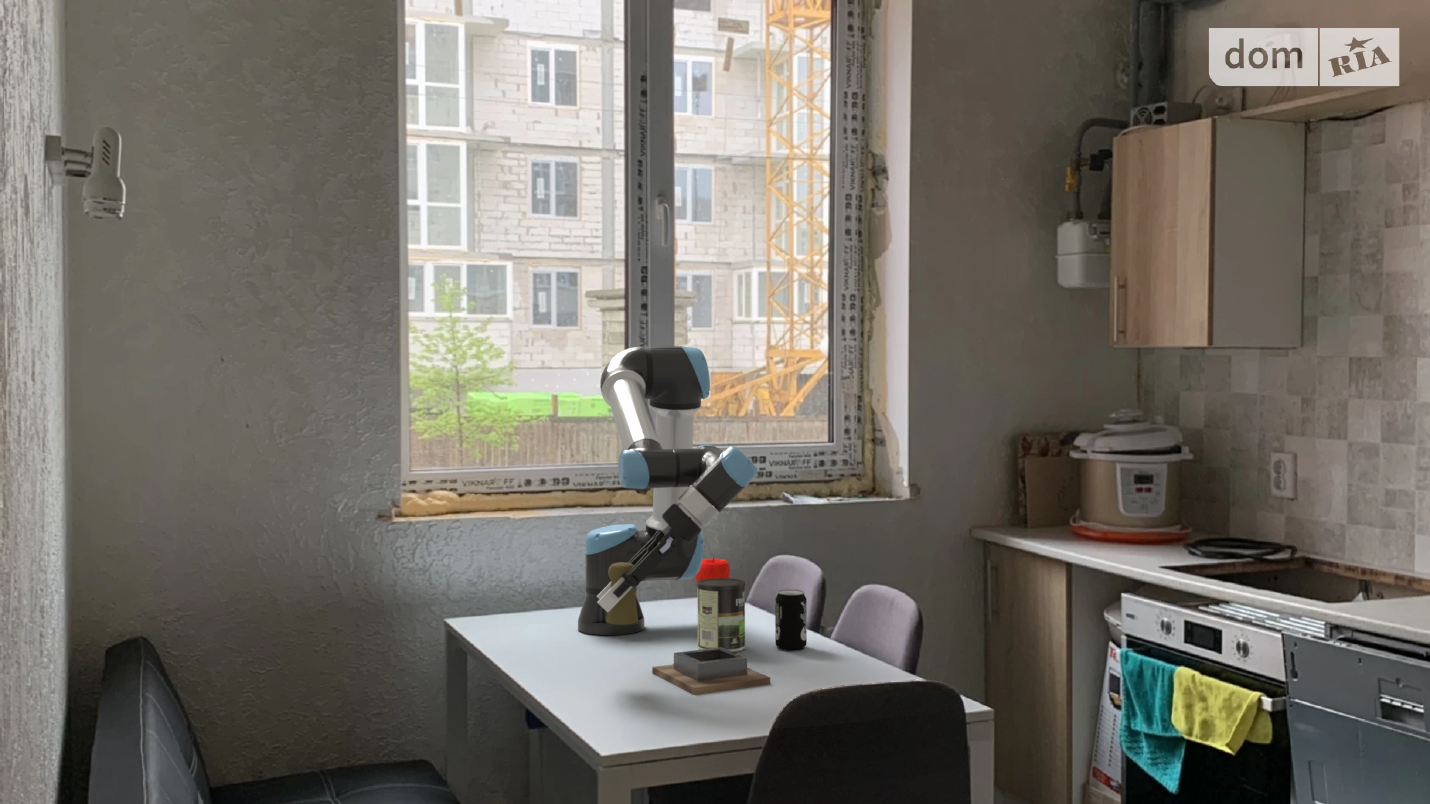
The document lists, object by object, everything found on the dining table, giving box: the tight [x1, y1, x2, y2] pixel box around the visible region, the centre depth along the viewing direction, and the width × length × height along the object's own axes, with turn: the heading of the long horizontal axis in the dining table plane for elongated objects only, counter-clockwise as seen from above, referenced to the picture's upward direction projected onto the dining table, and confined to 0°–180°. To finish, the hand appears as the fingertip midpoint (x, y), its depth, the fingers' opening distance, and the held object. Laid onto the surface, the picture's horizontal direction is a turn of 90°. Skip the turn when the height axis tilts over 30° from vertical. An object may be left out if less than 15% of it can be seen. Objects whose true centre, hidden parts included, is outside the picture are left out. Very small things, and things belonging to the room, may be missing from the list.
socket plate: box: [651, 647, 771, 695], centre depth 232 cm, size 18×16×4 cm
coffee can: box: [696, 577, 746, 653], centre depth 258 cm, size 10×10×14 cm
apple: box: [695, 557, 731, 583], centre depth 313 cm, size 9×9×11 cm
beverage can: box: [774, 588, 808, 652], centre depth 258 cm, size 7×7×12 cm
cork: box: [606, 562, 638, 625], centre depth 229 cm, size 6×6×11 cm
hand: (602, 604), depth 228 cm, fingers closed on cork, 5 cm apart
